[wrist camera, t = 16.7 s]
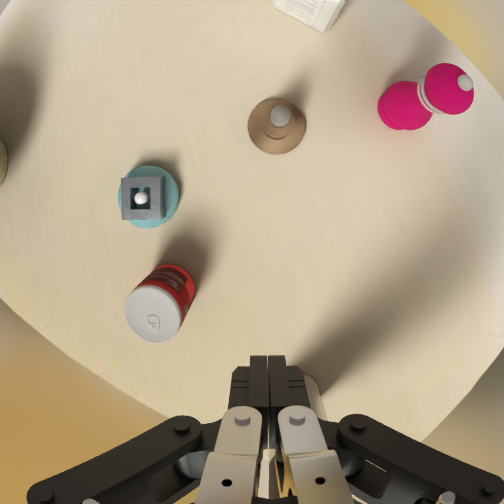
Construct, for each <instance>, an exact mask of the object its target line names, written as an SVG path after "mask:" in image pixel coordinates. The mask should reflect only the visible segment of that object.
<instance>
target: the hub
mask: <svg viewBox="0 0 504 504" xmlns="http://www.w3.org/2000/svg"><path fill="white" fill-rule="evenodd" d="M161 176H165V208H166V217H165V218H163V219H161V220H128V221H129V222H131V223H132V224H134V225H136V226H138V227H142V228H152V227H156V226H158V225H160V224H162V223H164V222H166V221H167V220H168V219H170V218H171V217H172V215H173V214H174V213H175V211H176V209H177V206H178V203H179V189H178V185H177V183H176V181H175V179H174V177H173V176H172V175H171V174H170V173H169V172H168V171H166V170H165V169H163V168H160V167H157V166H141V167H137V168H135V169H133V170H132V171H130V172H129V173H128V174H127V175H126V176H125V178H131V177H161ZM135 201H136V203H137V208H151V198H150V187H139V188H137V194H136V195H135ZM118 202H119V206H120V209H121V211H122V208H121V185H120V188H119V192H118Z"/></svg>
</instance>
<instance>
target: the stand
mask: <svg viewBox="0 0 504 504" xmlns="http://www.w3.org/2000/svg"><path fill="white" fill-rule="evenodd" d="M248 132H249V136H250V138H251V140H252V142H253V143H254V144H255V145H256V146H257V147H258V148H259V149H261V150H262V151H264V152H267V153H270V154H284V153H287V152H289V151H291V150H293V149H294V148H295V147H297V146H298V145H299V143H300V142H301V141H302V139H303V136H304V133H305V121H304V118H303V116H302V114H301V112H300V111H299V109H298V108H297V107H296V106H294V105H293V104H292V103H290V102H288V101H285V100H281V99H271V100H267V101H264V102H262V103H260V104H259V105H258V106H256V107H255V108H254V110H253V111H252V112H251V114H250V117H249V120H248Z"/></svg>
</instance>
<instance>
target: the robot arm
mask: <svg viewBox="0 0 504 504" xmlns="http://www.w3.org/2000/svg"><path fill="white" fill-rule="evenodd" d="M268 447H269V499H265V498H260V497H257V496H258V488H259V478H260V469H261V461H262V458H263V449H267V448H268ZM366 460H367V461H366ZM368 461H369V462H368ZM370 462H371V463H373V464H374V465H373V464H371V463H370ZM375 465H376V466H378V467H380V468H381V469H380V468H378V467H376V466H375ZM382 469H383V470H382ZM384 470H385V471H386V472H385V471H384ZM198 486H199V490H198V493H197V497H196V500H195V502H194V503H190V504H362V503H360V502H357V501H356V500H355V499H353V498H352V495H351V493H352V494H353V495H355V496H356V497H358V498H359V499H361V500H363V501H364V502H366V503H368V504H499V503H500V502H501V501H502V500H503V498H504V481H503V480H502V479H501V478H500V477H499V476H497V475H494V474H492V473H489V472H486V471H484V470H482V469H479V468H477V467H474V466H472V465H469V464H467V463H465V462H462V461H460V460H458V459H455V458H453V457H450V456H448V455H446V454H444V453H441V452H440V451H437V450H435V449H433V448H431V447H429V446H427V445H424V444H422V443H420V442H418V441H416V440H414V439H412V438H410V437H408V436H406V435H404V434H402V433H400V432H398V431H396V430H394V429H392V428H390V427H388V426H386V425H384V424H382V423H380V422H378V421H376V420H374V419H372V418H370V417H368V416H366V415H362V414H351V415H348V416H345V417H344V418H342V419H341V421H340V422H339V423H337V422H329V421H327V417H326V413H325V409H324V405H323V401H322V398H321V395H320V394H319V390H318V386H317V383H316V382H315V381H314V379H312V378H311V377H310V376H308V375H305V374H303V372H302V371H301V370H300V369H299V368H298V367H297V366H286V360H285V355H268V371H267V356H250V367H245V366H238V367H237V368H236V369H235V370H234V372H233V373H232V380H231V388H230V396H229V404H228V410H227V411H226V412H225V413H224V415H223V418H222V419H220V420H218V421H216V422H213V423H208V424H201V423H200V422H199V421H198V420H197V419H195V418H193V417H190V416H175V417H172V418H170V419H168V420H166V421H164V422H163V423H161V424H159V425H157V426H156V427H154V428H152V429H150V430H148V431H146V432H144V433H142V434H141V435H139V436H137V437H135V438H133V439H131V440H129V441H127V442H125V443H123V444H121V445H119V446H117V447H115V448H113V449H111V450H109V451H107V452H105V453H103V454H101V455H99V456H97V457H95V458H93V459H91V460H88V461H86V462H84V463H82V464H80V465H78V466H75V467H73V468H71V469H69V470H66V471H64V472H62V473H59V474H57V475H55V476H52V477H50V478H47V479H45V480H43V481H40V482H38V483H36V484H34V485H32V486H31V487H30V489H29V490H28V492H27V502H28V504H173V503H175V502H176V501H178V500H179V499H181V498H182V497H184V496H185V495H187V494H188V493H190V492H191V491H192V490H194V489H195V488H197V487H198Z"/></svg>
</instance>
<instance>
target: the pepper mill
mask: <svg viewBox="0 0 504 504" xmlns="http://www.w3.org/2000/svg"><path fill="white" fill-rule="evenodd" d="M473 98H474V90H473V81H472V79H471V78H470V77H469V76H468V75H467V74H466V73H465V72H464V71H463V70H462V69H461V68H459V67H458V66H456V65H453V64H449V63H441V64H437V65H435V66H433V67H432V68H431V69H430V70H429V71H428V72H427V75H426V76H424V77H422V78H421V79H420V80H419V82H418V83H415V82H411V81H401V82H397V83H395V84H393V85H391V86H390V87H389V88H388V89H387V91H386V93H384V94H383V95H382V96H381V97H380V99H379V101H378V113H379V116H380V118H381V119H382V121H383V122H384V123H385V124H386V125H387V126H388V127H390V128H392V129H395V130H402V129H405V130H415V129H418V128H420V127H422V126H424V125H425V124H426V123H427V122H428V121H429V120H430V118H431V116H432V114H433V113H434V114H443V113H447V114H451V115H454V114H460V113H462V112H464V111H466V110H467V109H468V108H469V107H470V106H471V104H472V102H473Z"/></svg>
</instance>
